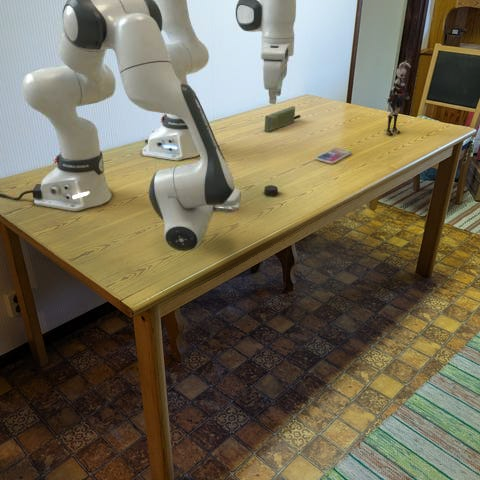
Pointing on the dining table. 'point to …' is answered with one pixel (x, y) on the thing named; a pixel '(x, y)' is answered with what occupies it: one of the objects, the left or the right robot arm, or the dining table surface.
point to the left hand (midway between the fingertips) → (205, 184)
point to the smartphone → (333, 155)
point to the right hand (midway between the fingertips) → (275, 99)
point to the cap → (271, 190)
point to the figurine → (397, 97)
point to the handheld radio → (280, 119)
